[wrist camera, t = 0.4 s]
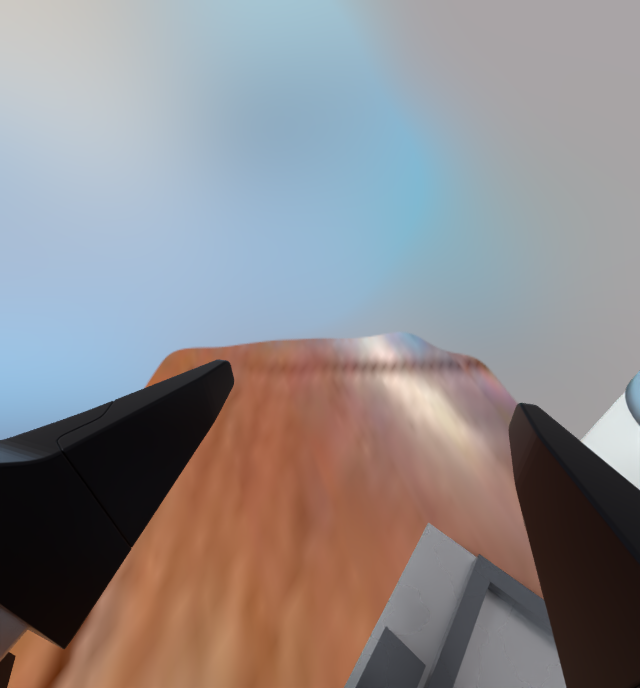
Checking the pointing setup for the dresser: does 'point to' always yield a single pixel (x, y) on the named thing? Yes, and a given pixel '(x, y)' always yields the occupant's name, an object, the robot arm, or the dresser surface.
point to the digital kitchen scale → (458, 627)
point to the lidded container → (620, 434)
